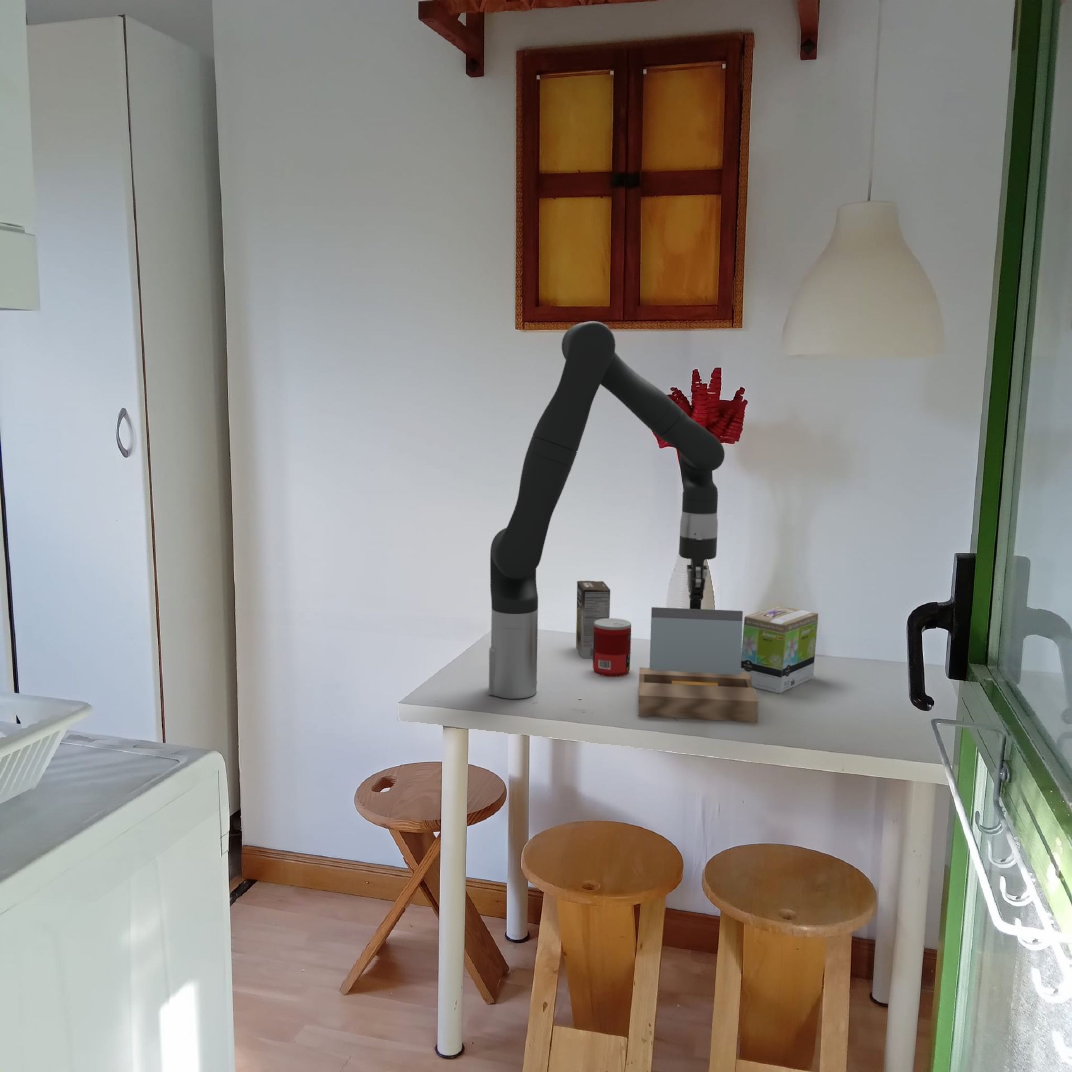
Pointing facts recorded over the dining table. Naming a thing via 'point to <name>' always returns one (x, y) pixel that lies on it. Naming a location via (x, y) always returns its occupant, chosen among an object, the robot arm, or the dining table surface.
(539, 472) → the robot arm
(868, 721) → the dining table surface
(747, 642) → the tea box
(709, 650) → the cover
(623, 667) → the canned food
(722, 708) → the wooden tray
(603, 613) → the coffee box
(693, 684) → the tall orange dowel
